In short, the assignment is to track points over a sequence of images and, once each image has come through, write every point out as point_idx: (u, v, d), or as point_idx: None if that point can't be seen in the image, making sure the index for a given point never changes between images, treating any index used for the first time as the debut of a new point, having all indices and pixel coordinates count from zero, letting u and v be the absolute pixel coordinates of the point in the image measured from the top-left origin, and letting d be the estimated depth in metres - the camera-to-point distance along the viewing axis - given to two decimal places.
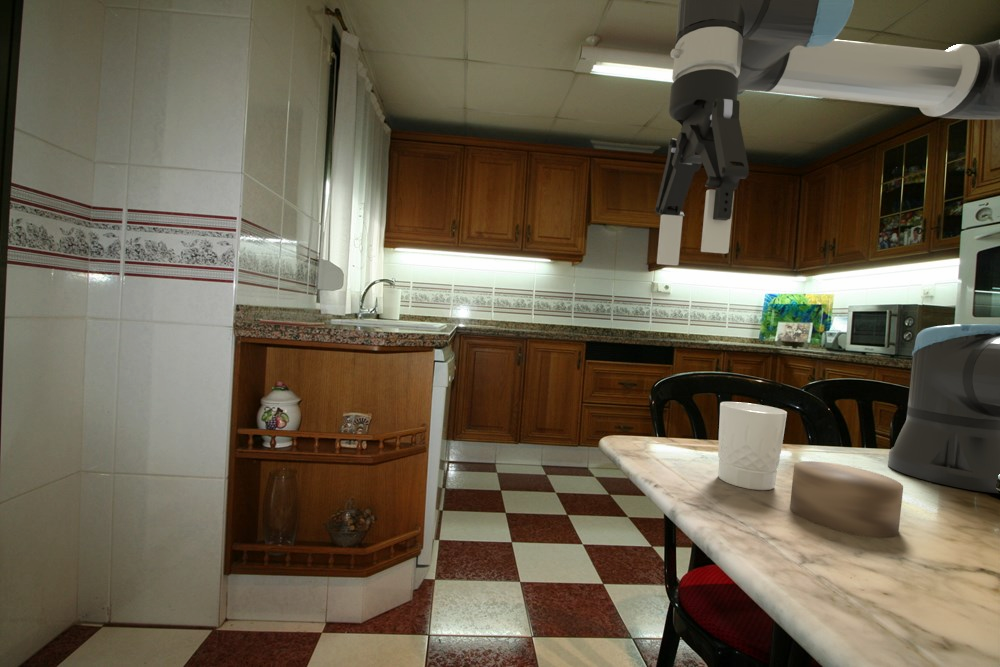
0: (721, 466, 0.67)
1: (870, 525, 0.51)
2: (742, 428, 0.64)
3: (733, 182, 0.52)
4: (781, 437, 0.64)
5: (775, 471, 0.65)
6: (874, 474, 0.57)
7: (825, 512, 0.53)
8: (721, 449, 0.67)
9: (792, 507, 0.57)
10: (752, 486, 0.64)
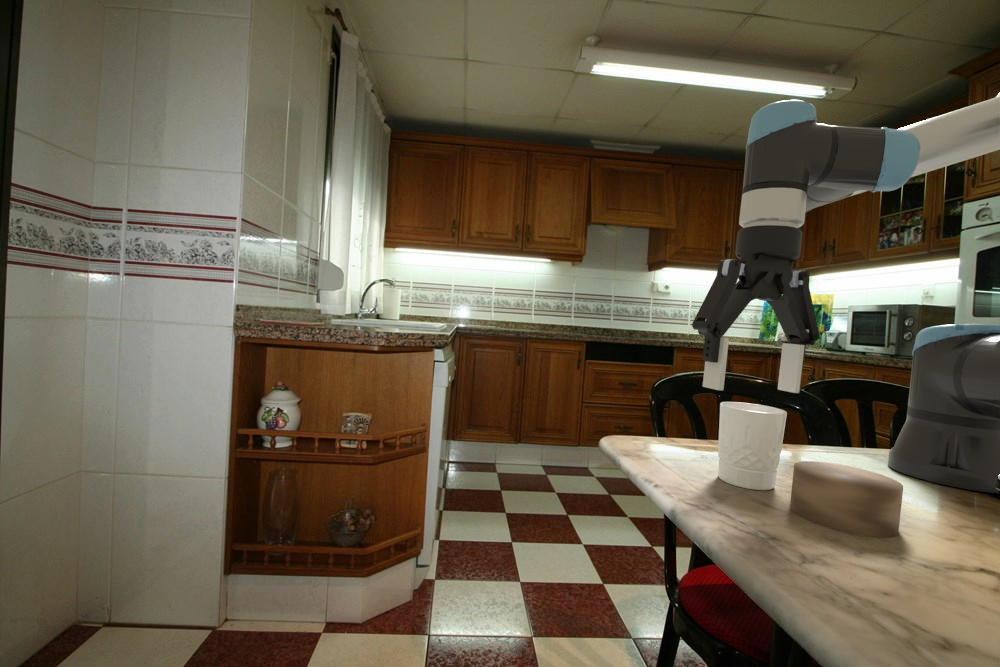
0: (721, 466, 0.67)
1: (870, 525, 0.51)
2: (741, 428, 0.64)
3: (708, 333, 0.63)
4: (781, 437, 0.64)
5: (775, 471, 0.65)
6: (874, 474, 0.57)
7: (825, 512, 0.53)
8: (721, 449, 0.67)
9: (792, 507, 0.57)
10: (752, 486, 0.64)
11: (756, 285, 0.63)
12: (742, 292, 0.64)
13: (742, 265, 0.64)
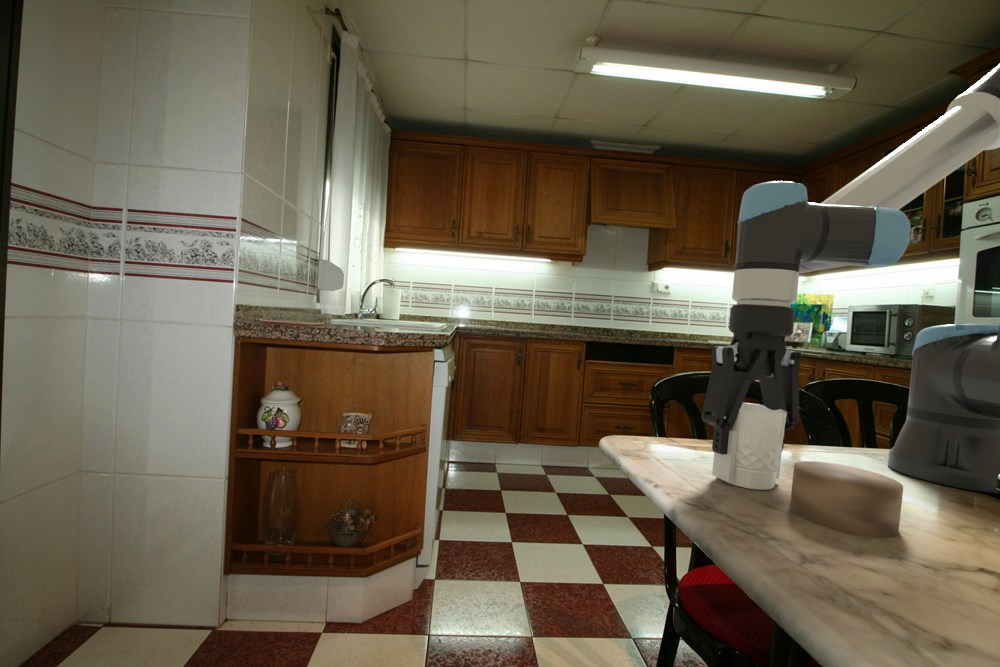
0: None
1: (870, 525, 0.51)
2: (741, 427, 0.64)
3: (717, 426, 0.64)
4: (781, 437, 0.64)
5: (775, 471, 0.65)
6: (874, 474, 0.57)
7: (825, 512, 0.53)
8: None
9: (792, 507, 0.57)
10: (752, 486, 0.64)
11: (752, 368, 0.64)
12: (740, 376, 0.65)
13: (735, 348, 0.64)
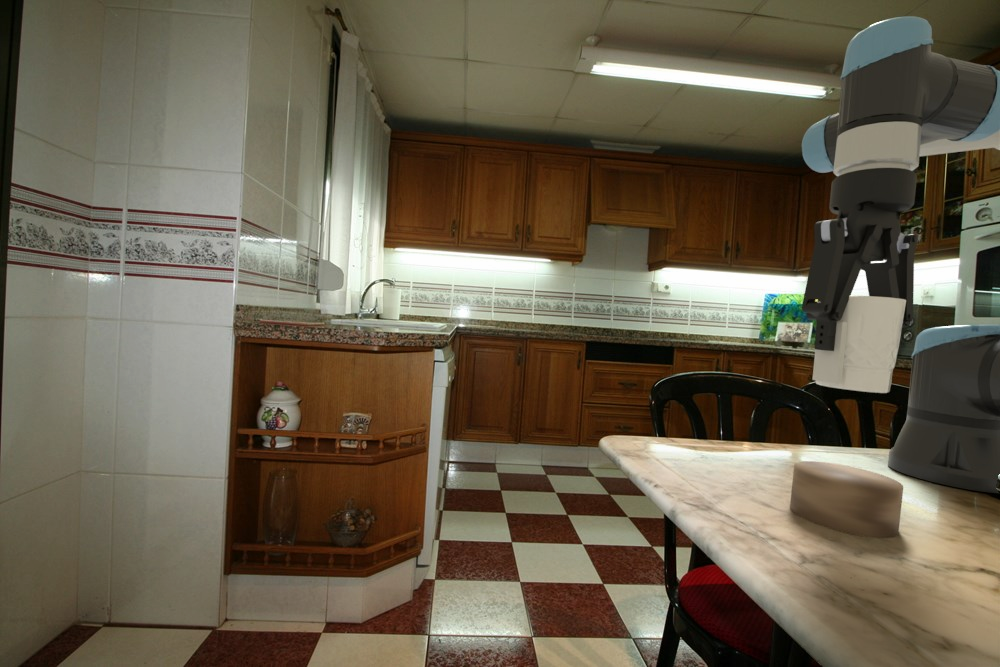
0: None
1: (870, 525, 0.51)
2: (852, 318, 0.53)
3: (823, 316, 0.53)
4: (900, 329, 0.53)
5: (891, 371, 0.54)
6: (874, 474, 0.57)
7: (825, 512, 0.53)
8: None
9: (792, 507, 0.57)
10: (865, 388, 0.53)
11: (865, 246, 0.53)
12: (849, 257, 0.54)
13: (843, 222, 0.53)
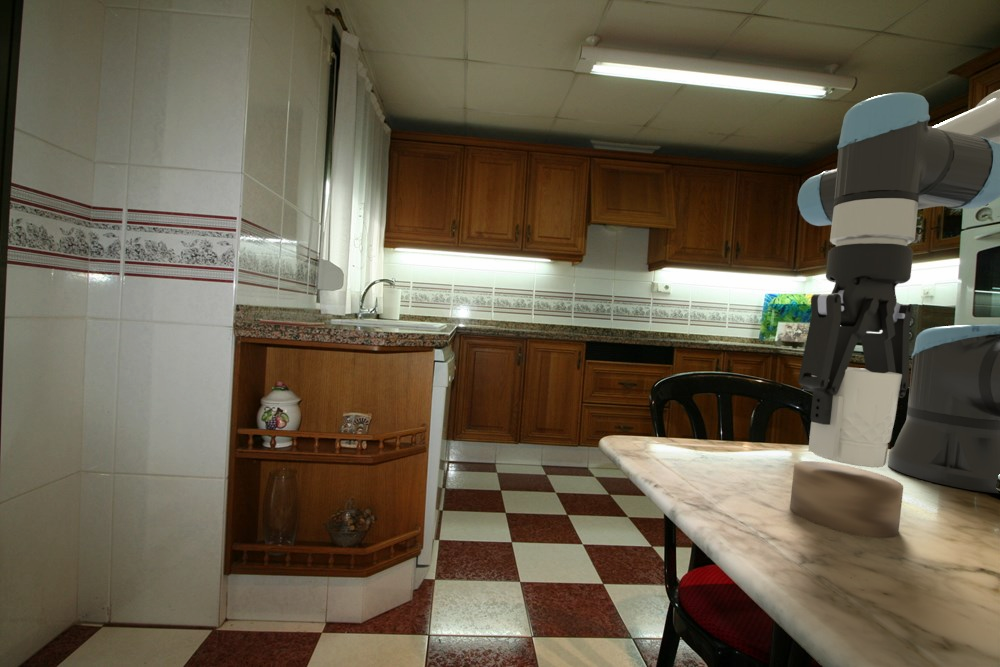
0: None
1: (870, 525, 0.51)
2: (848, 392, 0.53)
3: (819, 390, 0.53)
4: (896, 403, 0.53)
5: (887, 445, 0.54)
6: (874, 474, 0.57)
7: (825, 512, 0.53)
8: None
9: (792, 507, 0.57)
10: (861, 462, 0.53)
11: (861, 320, 0.53)
12: (846, 330, 0.54)
13: (840, 296, 0.53)
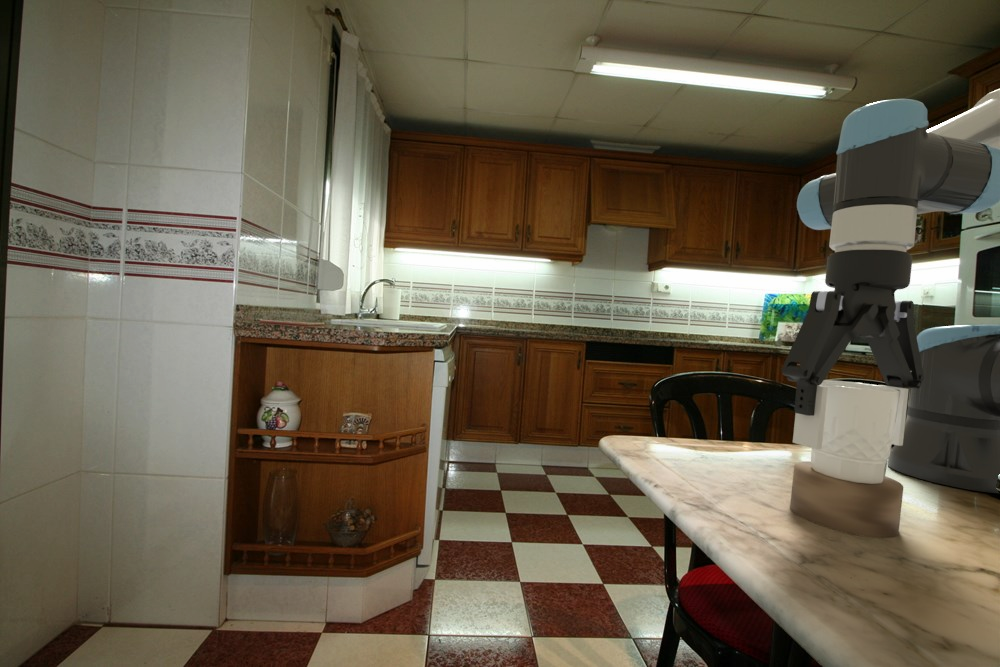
0: (817, 456, 0.56)
1: (870, 525, 0.51)
2: (847, 409, 0.53)
3: (802, 380, 0.52)
4: (895, 420, 0.53)
5: (886, 461, 0.54)
6: None
7: (825, 512, 0.53)
8: None
9: (792, 507, 0.57)
10: (860, 479, 0.53)
11: (858, 321, 0.53)
12: (840, 329, 0.53)
13: (840, 297, 0.53)
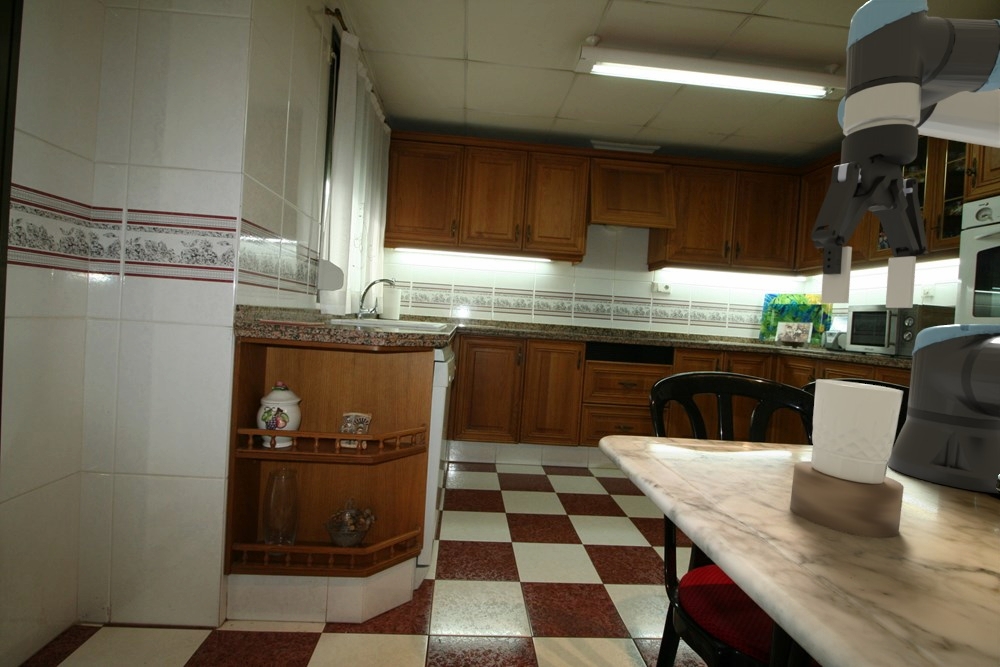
0: (818, 454, 0.56)
1: (870, 525, 0.51)
2: (849, 408, 0.53)
3: (830, 242, 0.58)
4: (897, 420, 0.53)
5: (887, 461, 0.54)
6: None
7: (826, 512, 0.53)
8: (818, 434, 0.56)
9: (792, 507, 0.57)
10: (860, 479, 0.53)
11: (875, 190, 0.59)
12: (859, 198, 0.60)
13: None
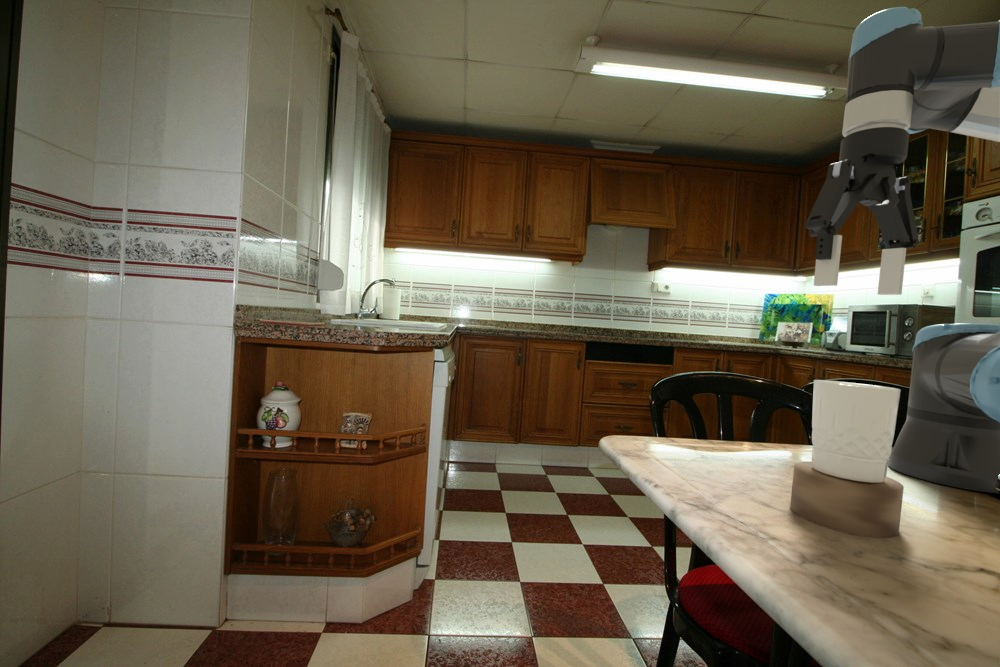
0: (817, 454, 0.56)
1: (871, 525, 0.51)
2: (846, 407, 0.53)
3: (822, 230, 0.66)
4: (895, 419, 0.53)
5: (887, 460, 0.54)
6: None
7: (826, 513, 0.53)
8: (817, 434, 0.56)
9: (793, 508, 0.57)
10: (860, 477, 0.53)
11: (866, 185, 0.66)
12: (852, 193, 0.67)
13: (852, 167, 0.67)
